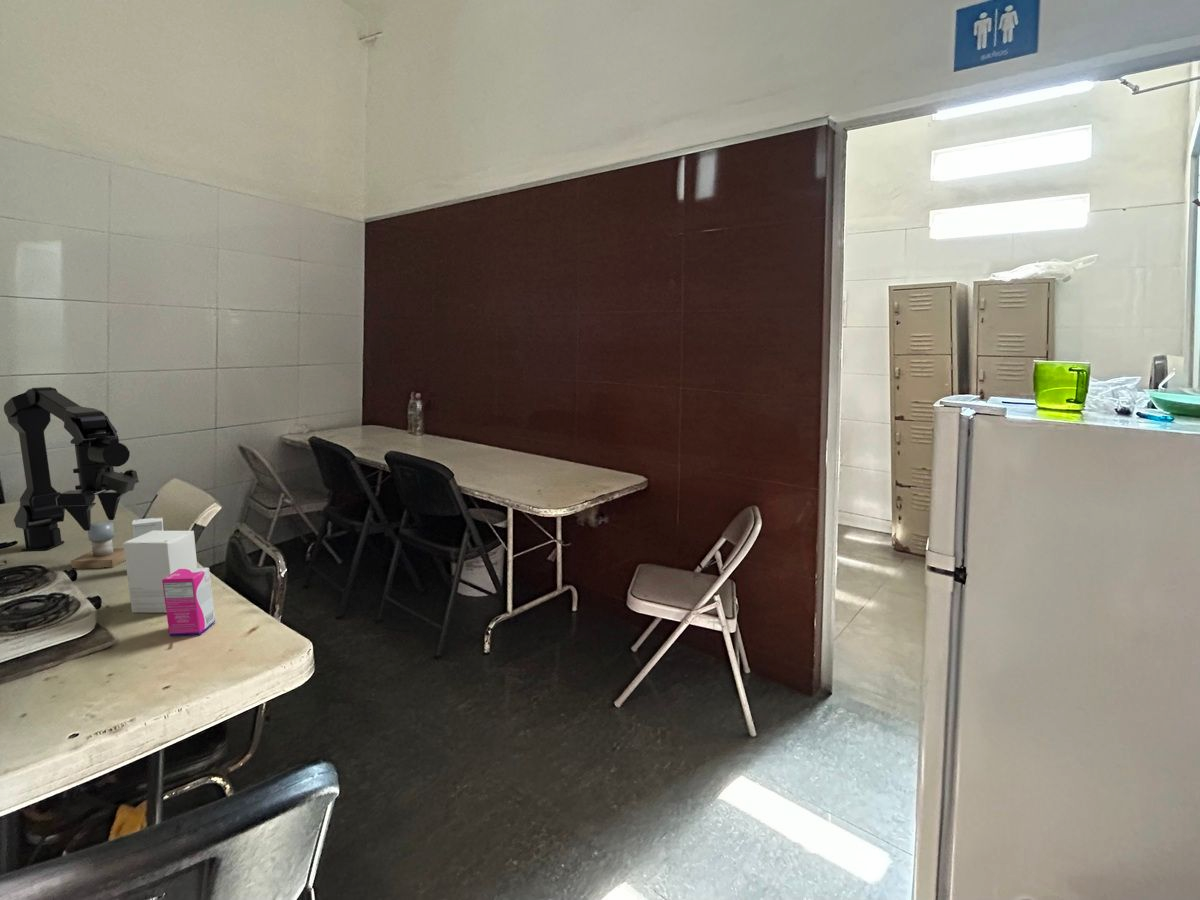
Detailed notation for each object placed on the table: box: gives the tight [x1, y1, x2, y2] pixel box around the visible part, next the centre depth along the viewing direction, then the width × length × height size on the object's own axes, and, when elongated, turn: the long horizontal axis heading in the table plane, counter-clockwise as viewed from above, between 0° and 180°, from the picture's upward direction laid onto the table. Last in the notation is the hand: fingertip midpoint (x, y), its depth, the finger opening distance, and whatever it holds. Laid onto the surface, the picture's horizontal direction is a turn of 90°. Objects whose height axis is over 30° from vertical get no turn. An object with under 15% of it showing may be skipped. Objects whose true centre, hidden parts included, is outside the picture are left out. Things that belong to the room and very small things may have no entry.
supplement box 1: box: [122, 530, 198, 614], centre depth 130 cm, size 9×9×15 cm
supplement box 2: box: [162, 567, 216, 637], centre depth 119 cm, size 6×6×12 cm
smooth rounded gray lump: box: [87, 521, 115, 542], centre depth 154 cm, size 5×5×4 cm
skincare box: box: [131, 516, 164, 539], centre depth 151 cm, size 6×4×12 cm
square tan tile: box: [70, 538, 126, 570], centre depth 155 cm, size 9×9×6 cm
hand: (99, 525), depth 154 cm, fingers open, 9 cm apart
